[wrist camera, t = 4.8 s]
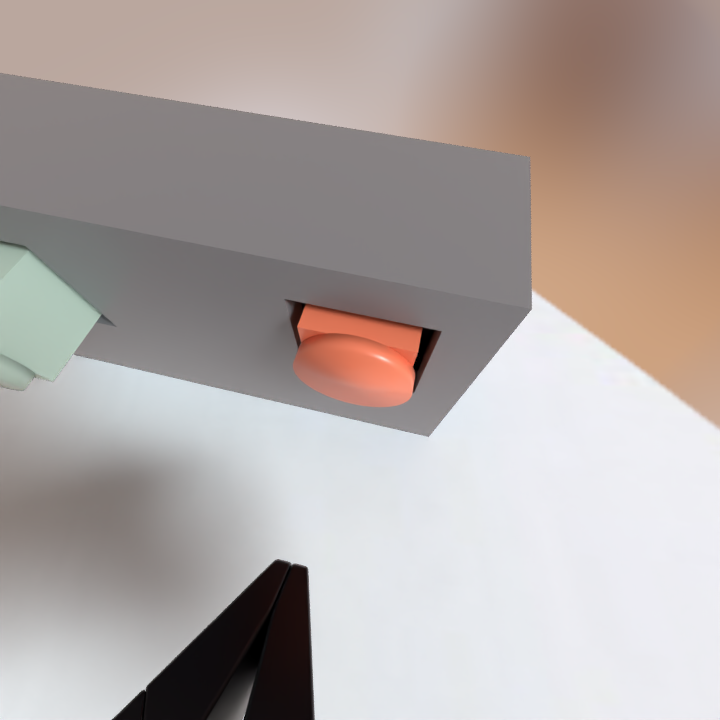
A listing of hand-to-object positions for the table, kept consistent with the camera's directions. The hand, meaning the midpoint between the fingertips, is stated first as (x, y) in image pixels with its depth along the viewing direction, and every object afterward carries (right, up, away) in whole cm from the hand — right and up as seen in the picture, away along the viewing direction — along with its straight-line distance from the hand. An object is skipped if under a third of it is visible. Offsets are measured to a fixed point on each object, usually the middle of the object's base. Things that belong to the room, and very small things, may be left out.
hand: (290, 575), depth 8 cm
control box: (-4, +6, +12) cm, 14 cm away
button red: (+2, +6, +5) cm, 8 cm away
